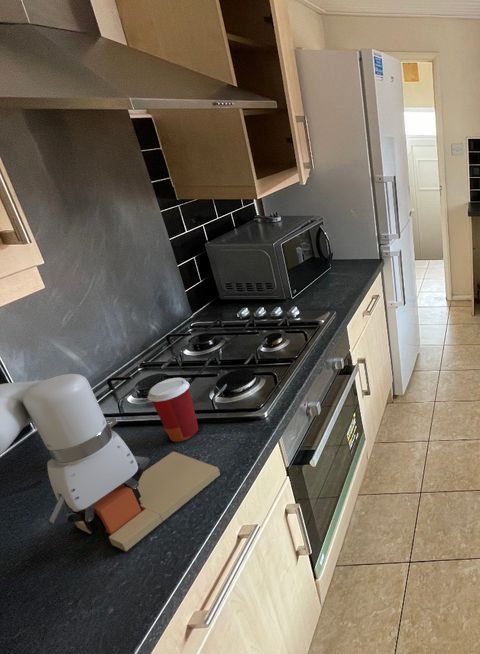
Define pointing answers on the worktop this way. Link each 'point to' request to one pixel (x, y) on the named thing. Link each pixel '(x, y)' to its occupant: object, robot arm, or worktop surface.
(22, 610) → the worktop surface
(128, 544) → the base pad
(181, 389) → the paper cup
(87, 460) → the robot arm
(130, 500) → the orange block
